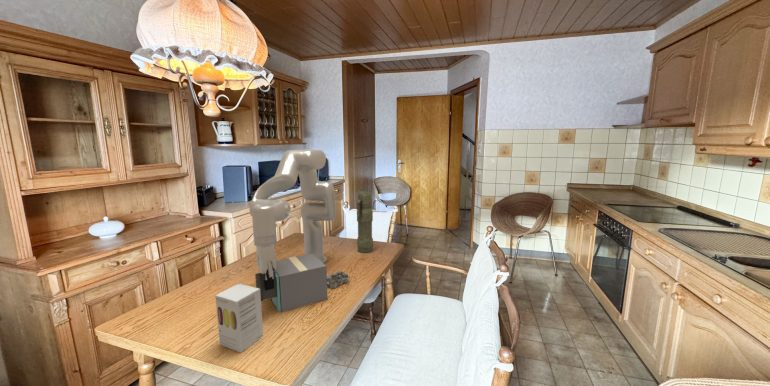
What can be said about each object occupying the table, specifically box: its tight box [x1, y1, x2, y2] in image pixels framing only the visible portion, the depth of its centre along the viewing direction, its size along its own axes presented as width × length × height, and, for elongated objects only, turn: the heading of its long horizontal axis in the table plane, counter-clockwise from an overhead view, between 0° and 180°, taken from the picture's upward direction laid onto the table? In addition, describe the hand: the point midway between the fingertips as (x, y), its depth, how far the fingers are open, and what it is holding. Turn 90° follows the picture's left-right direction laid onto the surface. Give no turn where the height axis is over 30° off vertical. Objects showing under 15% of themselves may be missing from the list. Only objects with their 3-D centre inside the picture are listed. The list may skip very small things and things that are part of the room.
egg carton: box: [327, 269, 351, 289], centre depth 140 cm, size 11×8×4 cm
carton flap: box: [254, 271, 281, 312], centre depth 120 cm, size 16×8×16 cm, turn 32°
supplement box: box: [215, 282, 264, 353], centre depth 99 cm, size 10×9×17 cm
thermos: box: [356, 188, 374, 254], centre depth 177 cm, size 9×12×35 cm
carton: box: [275, 253, 328, 313], centre depth 127 cm, size 16×18×14 cm
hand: (268, 287), depth 114 cm, fingers closed
